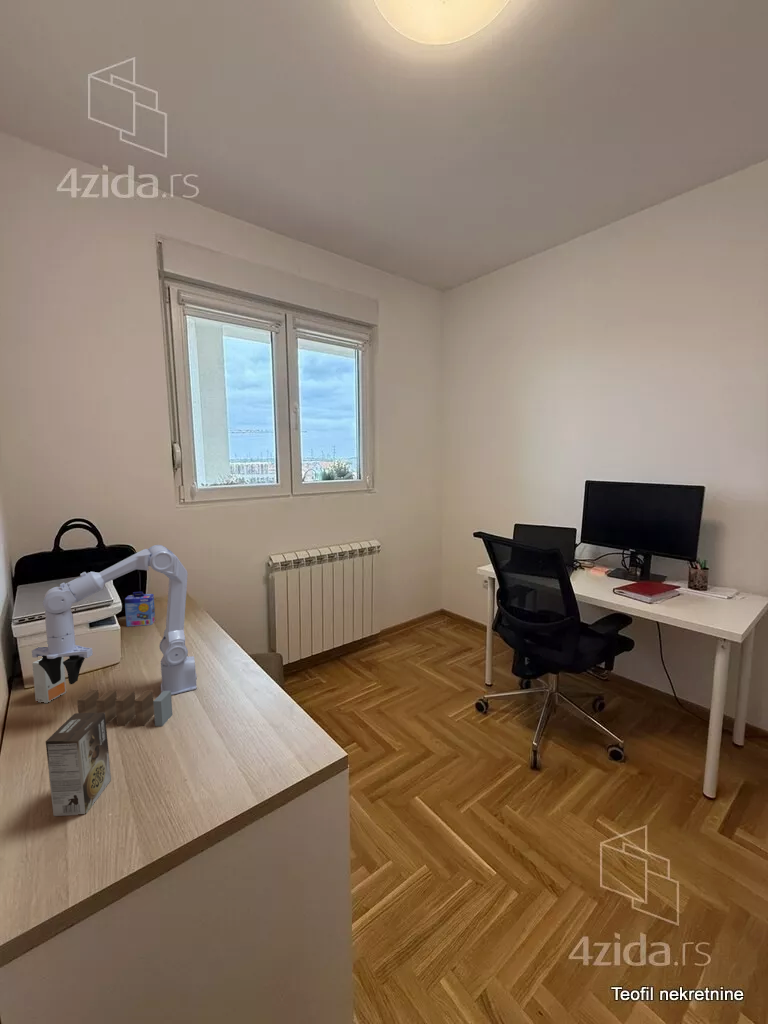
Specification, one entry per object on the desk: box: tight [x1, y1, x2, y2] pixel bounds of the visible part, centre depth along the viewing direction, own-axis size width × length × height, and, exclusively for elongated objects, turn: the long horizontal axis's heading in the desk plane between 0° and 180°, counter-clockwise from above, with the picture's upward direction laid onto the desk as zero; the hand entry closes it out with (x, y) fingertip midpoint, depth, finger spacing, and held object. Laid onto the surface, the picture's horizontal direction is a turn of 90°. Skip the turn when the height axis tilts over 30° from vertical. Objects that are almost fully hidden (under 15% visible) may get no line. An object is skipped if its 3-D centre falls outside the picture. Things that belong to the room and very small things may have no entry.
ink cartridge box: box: [124, 591, 156, 627], centre depth 176 cm, size 10×6×14 cm, turn 104°
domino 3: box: [115, 689, 136, 727], centre depth 111 cm, size 2×5×7 cm, turn 179°
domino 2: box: [96, 689, 118, 726], centre depth 111 cm, size 2×5×7 cm, turn 179°
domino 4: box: [134, 689, 154, 727], centre depth 111 cm, size 2×5×7 cm, turn 179°
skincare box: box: [31, 657, 67, 704], centre depth 121 cm, size 6×4×12 cm
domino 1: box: [76, 689, 100, 713], centre depth 111 cm, size 2×5×7 cm, turn 179°
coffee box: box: [45, 712, 112, 817], centre depth 85 cm, size 9×6×16 cm
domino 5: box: [153, 691, 173, 727], centre depth 111 cm, size 2×5×7 cm, turn 179°
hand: (65, 682), depth 110 cm, fingers open, 4 cm apart
